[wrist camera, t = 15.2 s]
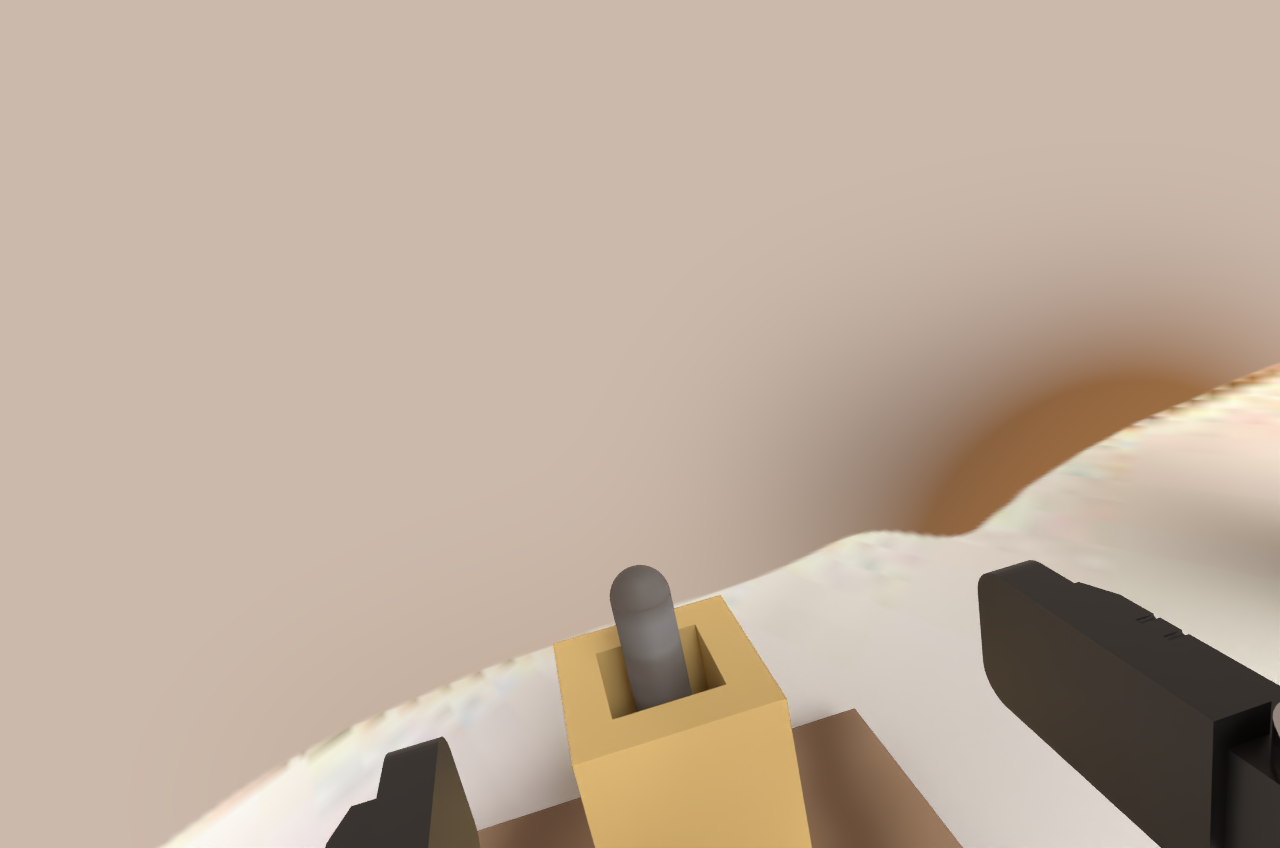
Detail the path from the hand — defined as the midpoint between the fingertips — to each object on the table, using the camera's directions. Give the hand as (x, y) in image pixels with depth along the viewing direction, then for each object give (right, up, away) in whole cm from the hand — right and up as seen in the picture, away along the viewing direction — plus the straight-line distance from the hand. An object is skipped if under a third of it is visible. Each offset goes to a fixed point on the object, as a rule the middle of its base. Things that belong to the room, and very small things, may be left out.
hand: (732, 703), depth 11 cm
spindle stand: (+1, -14, +15) cm, 21 cm away
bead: (+1, -13, +15) cm, 20 cm away
